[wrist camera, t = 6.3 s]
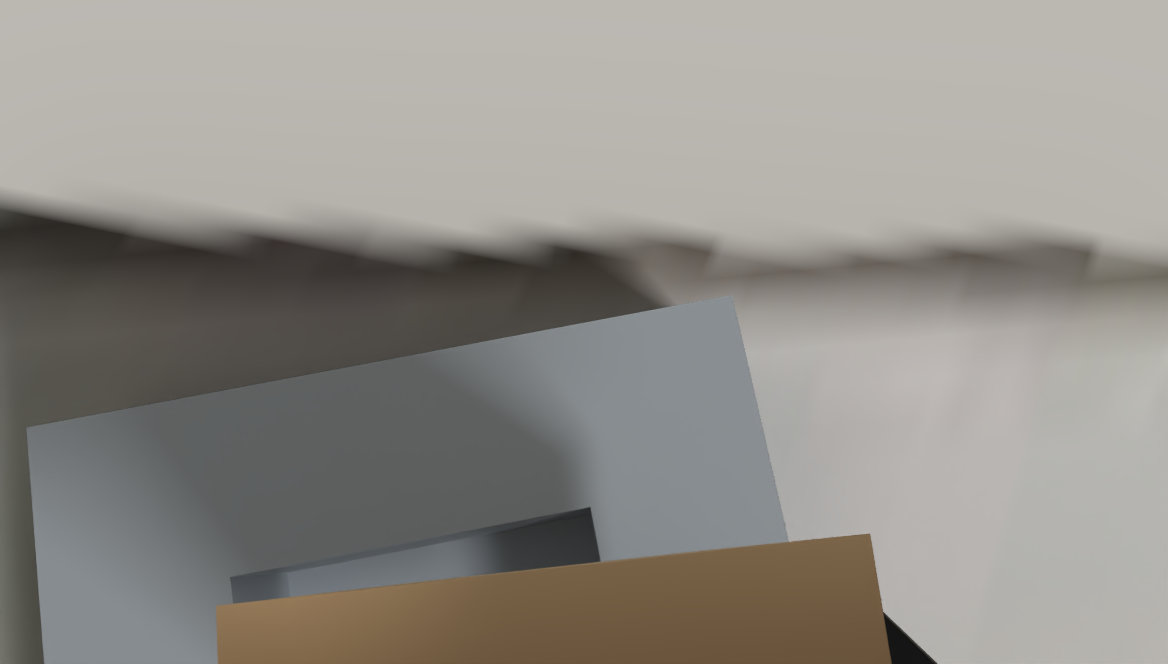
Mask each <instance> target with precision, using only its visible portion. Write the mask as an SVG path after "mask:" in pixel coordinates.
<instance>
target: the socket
mask: <svg viewBox="0 0 1168 664" xmlns="http://www.w3.org/2000/svg"><path fill="white" fill-rule="evenodd" d="M26 431H27V445H28V458H29V471H30V484H31V497H32V511H33V524H34V537H35V550H36V563H37V577H38V590H39V603H40V616H41V629H42V643H43V656H44V664H218V656H217V620H216V606H218V605H227V604H235V603H244V602H252V601H261V600H269V599H278V598H286V597H295V596H303V595H312V594H320V593H329V592H337V591H346V590H354V589H362V588H371V587H379V586H388V585H396V584H405V583H413V582H422V581H431V580H440V579H449V578H458V577H467V576H476V575H485V574H494V573H503V572H512V571H521V570H530V569H540V568H549V567H558V566H567V565H576V564H585V563H594V562H603V561H612V560H621V559H630V558H639V557H648V556H658V555H667V554H676V553H685V552H694V551H703V550H712V549H722V548H732V547H742V546H752V545H762V544H772V543H782V542H789V541H788V536H787V532H786V528H785V523H784V519H783V514H782V510H781V506H780V501H779V497H778V493H777V488H776V484H775V480H774V475H773V471H772V467H771V462H770V458H769V454H768V449H767V445H766V440H765V436H764V432H763V427H762V423H761V419H760V414H759V410H758V406H757V401H756V397H755V393H754V388H753V384H752V380H751V375H750V371H749V366H748V362H747V358H746V353H745V349H744V345H743V340H742V336H741V332H740V327H739V323H738V319H737V314H736V310H735V306H734V301H733V297H732V295H729V296H723V297H718V298H713V299H707V300H702V301H697V302H691V303H686V304H681V305H675V306H670V307H665V308H659V309H654V310H649V311H643V312H638V313H633V314H628V315H622V316H617V317H612V318H606V319H601V320H596V321H590V322H585V323H580V324H574V325H569V326H564V327H558V328H553V329H548V330H542V331H537V332H532V333H526V334H521V335H516V336H510V337H505V338H500V339H494V340H489V341H484V342H478V343H473V344H468V345H462V346H457V347H452V348H446V349H441V350H436V351H430V352H425V353H420V354H414V355H409V356H404V357H398V358H393V359H388V360H382V361H377V362H372V363H366V364H361V365H356V366H350V367H345V368H340V369H334V370H329V371H324V372H318V373H313V374H308V375H302V376H297V377H292V378H286V379H281V380H276V381H270V382H265V383H260V384H255V385H249V386H244V387H239V388H233V389H228V390H223V391H217V392H212V393H207V394H201V395H196V396H191V397H185V398H180V399H175V400H169V401H164V402H159V403H153V404H148V405H143V406H137V407H132V408H127V409H121V410H116V411H111V412H105V413H100V414H95V415H89V416H84V417H79V418H73V419H68V420H63V421H57V422H52V423H47V424H41V425H36V426H31V427H26Z"/></svg>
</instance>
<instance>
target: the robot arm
mask: <svg viewBox="0 0 1168 664" xmlns="http://www.w3.org/2000/svg"><path fill="white" fill-rule="evenodd" d="M883 615H884V621H885V627H886V633H887V639H888V645H889V651H890V657H891V663H892V664H937V663H936V662H935V661H934V660H933V659H932V658H931V657H930V656H929V655H928V654H927V653H926V652H925V651H924V650H923V649H922V648H921V647H919V646H918V645H917V644H916V643H915V642H914V641H913V640H912V639H911V638H910V637H909V636H908V635H907V634H906V633H905V632H904V631H903V630H902V629H901V628H900V627H899V626H898V625H896V624H895V623H894V622H893V621H892V620H891V619H890V618H889V617H888V616H887V615H886V614H885V613H884V612H883Z"/></svg>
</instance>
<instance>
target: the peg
mask: <svg viewBox="0 0 1168 664" xmlns="http://www.w3.org/2000/svg"><path fill="white" fill-rule="evenodd" d="M216 620H217V656H218V664H892V663H891V657H890V651H889V645H888V639H887V633H886V627H885V621H884V615H883V609H882V603H881V597H880V591H879V585H878V579H877V573H876V567H875V561H874V555H873V549H872V543H871V537H870V534H862V535H852V536H842V537H832V538H822V539H812V540H802V541H792V542H782V543H772V544H762V545H752V546H742V547H732V548H722V549H712V550H703V551H694V552H685V553H676V554H667V555H658V556H648V557H639V558H630V559H621V560H612V561H603V562H594V563H585V564H576V565H567V566H558V567H549V568H540V569H530V570H521V571H512V572H503V573H494V574H485V575H476V576H467V577H458V578H449V579H440V580H431V581H422V582H413V583H405V584H396V585H388V586H379V587H371V588H362V589H354V590H346V591H337V592H329V593H320V594H312V595H303V596H295V597H286V598H278V599H269V600H261V601H252V602H244V603H235V604H227V605H218V606H216Z"/></svg>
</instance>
